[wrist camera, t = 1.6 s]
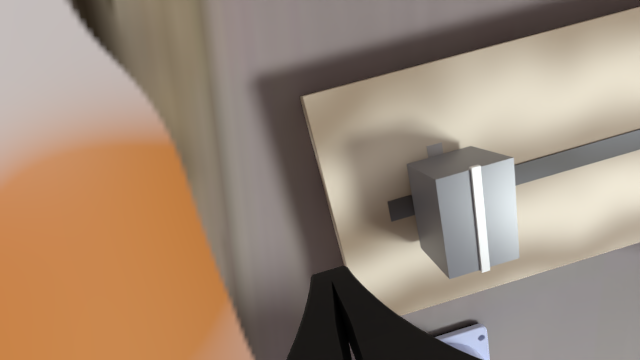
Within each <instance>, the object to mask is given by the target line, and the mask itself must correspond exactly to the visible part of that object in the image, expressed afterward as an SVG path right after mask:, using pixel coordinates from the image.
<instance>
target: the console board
mask: <svg viewBox="0 0 640 360" xmlns="http://www.w3.org/2000/svg"><path fill="white" fill-rule="evenodd" d="M300 100H301V103H302V107H303V111H304V115H305V119H306V122H307V126H308V130H309V134H310V138H311V142H312V145H313V149H314V153H315V157H316V161H317V164H318V168H319V172H320V176H321V180H322V183H323V187H324V191H325V195H326V199H327V203H328V206H329V210H330V214H331V218H332V222H333V225H334V229H335V233H336V237H337V241H338V244H339V248H340V252H341V256H342V260H343V264H344V266H346V267H348V268H349V270H350V271H351V272H352V274H353V275H354V276H355V277H356V278H357V279H358V281H359V282H360V283H361V284H362V285H363V286H364V287H365V288H366V289H367V290H369V291H370V292H371V293H372V294H373V295H374V296H375V297H376V298H377V299H379V300H380V301H381V302H382V303H383V304H385V305H386V306H387V307H388V308H390V309H391V310H392V311H394V312H395V313H396V314H398V315H399V316H402V315H405V314H408V313H411V312H415V311H418V310H421V309H424V308H428V307H431V306H434V305H437V304H441V303H444V302H447V301H450V300H454V299H457V298H460V297H463V296H467V295H470V294H473V293H476V292H480V291H483V290H486V289H489V288H493V287H496V286H499V285H502V284H506V283H509V282H512V281H515V280H519V279H522V278H525V277H528V276H532V275H535V274H538V273H541V272H545V271H548V270H551V269H554V268H558V267H561V266H564V265H567V264H571V263H574V262H577V261H580V260H584V259H587V258H590V257H593V256H597V255H600V254H603V253H606V252H610V251H613V250H616V249H619V248H623V247H626V246H629V245H632V244H636V243H639V242H640V6H639V7H635V8H631V9H627V10H624V11H620V12H616V13H612V14H609V15H605V16H601V17H597V18H593V19H590V20H586V21H582V22H578V23H575V24H571V25H567V26H563V27H560V28H556V29H552V30H548V31H544V32H541V33H537V34H533V35H529V36H526V37H522V38H518V39H514V40H511V41H507V42H503V43H499V44H495V45H492V46H488V47H484V48H480V49H477V50H473V51H469V52H465V53H461V54H458V55H454V56H450V57H446V58H443V59H439V60H435V61H431V62H428V63H424V64H420V65H416V66H412V67H409V68H405V69H401V70H397V71H394V72H390V73H386V74H382V75H379V76H375V77H371V78H367V79H363V80H360V81H356V82H352V83H348V84H345V85H341V86H337V87H333V88H329V89H326V90H322V91H318V92H314V93H311V94H307V95H303V96H300ZM469 146H473V147H477V148H480V149H484V150H488V151H492V152H495V153H499V154H503V155H506V156H510V157H514V171H515V188H516V206H517V223H518V241H519V258H518V259H515V260H511V261H508V262H505V263H502V264H498V265H495V266H492V267H490V271H487V272H483V273H482V272H481V271H480V270H478V271H475V272H472V273H469V274H465V275H462V276H459V277H455V278H452V279H449V278H448V277H447V276H446V275H445V274H444V273H443V272H442V271H441V269H440V268H439V267H438V266H437V265H436V264H435V263H434V262H433V261H432V260H431V259H430V257H429V256H428V255H427V254H426V253H425V252H424V251H423V250H422V249H421V246H420V240H419V235H418V229H417V223H416V217H415V211H414V205H413V199H412V193H411V187H410V181H409V176H408V170H407V164H408V163H412V162H415V161H419V160H422V159H426V158H430V157H433V156H437V155H440V154H444V153H447V152H451V151H454V150H458V149H462V148H465V147H469Z"/></svg>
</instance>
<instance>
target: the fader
mask: <svg viewBox="0 0 640 360" xmlns="http://www.w3.org/2000/svg"><path fill="white" fill-rule="evenodd" d="M407 170H408V176H409V181H410V187H411V193H412V199H413V205H414V211H415V217H416V223H417V229H418V235H419V240H420V246H421V249H422V250H423V251H424V252H425V253H426V254H427V255H428V256H429V257H430V259H431V260H432V261H433V262H434V263H435V264H436V265H437V266H438V267H439V268H440V269H441V271H442V272H443V273H444V274H445V275H446V276H447V277H448V278H449V279H452V278H455V277H459V276H462V275H465V274H469V273H472V272H475V271H478V270H480V271H481V272H482V273H483V272H487V271H490V267H492V266H495V265H498V264H502V263H505V262H508V261H511V260H515V259H518V258H519V241H518V223H517V206H516V188H515V171H514V157H510V156H506V155H503V154H499V153H495V152H492V151H488V150H484V149H480V148H477V147H473V146H469V147H465V148H462V149H458V150H454V151H451V152H447V153H444V154H440V155H437V156H433V157H430V158H426V159H422V160H419V161H415V162H412V163H408V164H407Z"/></svg>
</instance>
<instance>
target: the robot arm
mask: <svg viewBox="0 0 640 360" xmlns="http://www.w3.org/2000/svg"><path fill="white" fill-rule="evenodd" d="M349 343H350V346H351V348H352V351H353V354H354V356H355V359H356V360H490V356H489V346H488V337H487V329H486V328H485V326H484V325H483V324H475V325H472V326H469V327H466V328H462V329H459V330H456V331H453V332H450V333H446V334H443V335H440V336H437V337H433V336H431V335H429V334H427V333H425V332H424V331H422V330H421V329H419V328H417V327H416V326H414V325H412V324H411V323H409V322H408V321H406V320H405V319H403V318H402V317H400V316H399V315H398V314H396V313H395V312H394V311H392V310H391V309H390V308H388V307H387V306H386V305H385V304H383V303H382V302H381V301H380V300H379V299H377V298H376V297H375V296H374V295H373V294H372V293H371V292H370V291H369V290H367V289H366V288H365V287H364V286H363V285H362V284H361V283H360V282H359V281H358V279H357V278H356V277H355V276H354V275H353V274H352V272H351V271H350V270H349V268H348V267H346V266H341V267H338V268H334V269H331V270H328V271H324V272H321V273H318V274H314V275H313V276H312V277H311V283H310V290H309V295H308V299H307V303H306V307H305V311H304V314H303V318H302V321H301V324H300V327H299V329H298V332H297V335H296V338H295V340H294V343H293V345H292V348H291V350H290V353H289V355H288V357H287V359H286V360H352V358H351V352H350V347H349Z"/></svg>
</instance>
